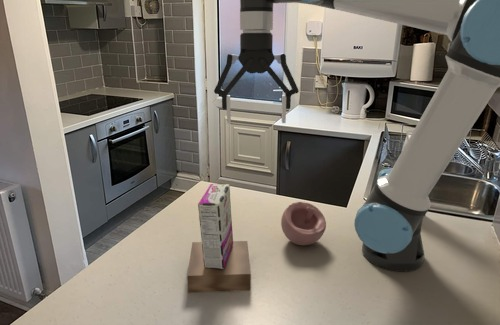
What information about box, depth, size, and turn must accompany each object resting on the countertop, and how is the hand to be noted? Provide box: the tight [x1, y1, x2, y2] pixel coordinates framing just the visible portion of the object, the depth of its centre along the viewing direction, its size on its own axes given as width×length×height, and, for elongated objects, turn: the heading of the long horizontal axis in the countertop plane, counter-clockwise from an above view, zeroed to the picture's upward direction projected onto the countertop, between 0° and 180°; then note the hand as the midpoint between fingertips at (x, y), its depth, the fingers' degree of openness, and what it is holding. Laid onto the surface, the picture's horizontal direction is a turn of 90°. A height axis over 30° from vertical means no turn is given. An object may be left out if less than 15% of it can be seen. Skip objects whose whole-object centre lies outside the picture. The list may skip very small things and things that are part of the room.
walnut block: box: [186, 240, 252, 294], centre depth 92 cm, size 14×14×5 cm
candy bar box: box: [197, 183, 234, 269], centre depth 88 cm, size 11×5×16 cm, turn 171°
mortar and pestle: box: [280, 201, 327, 246], centre depth 104 cm, size 12×12×11 cm
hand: (256, 122), depth 95 cm, fingers open, 13 cm apart
